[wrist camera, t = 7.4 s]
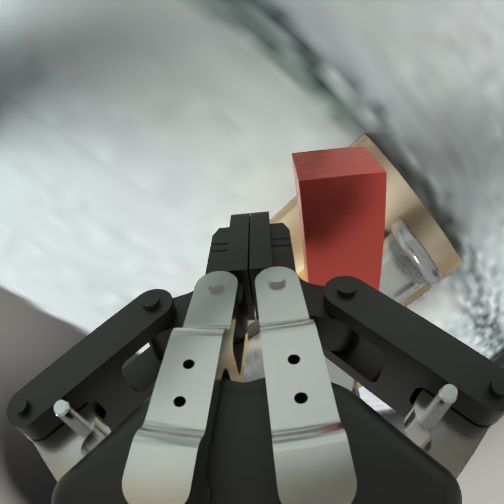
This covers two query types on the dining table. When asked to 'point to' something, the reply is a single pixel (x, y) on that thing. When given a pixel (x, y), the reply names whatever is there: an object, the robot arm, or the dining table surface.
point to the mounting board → (388, 220)
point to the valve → (391, 284)
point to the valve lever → (341, 221)
